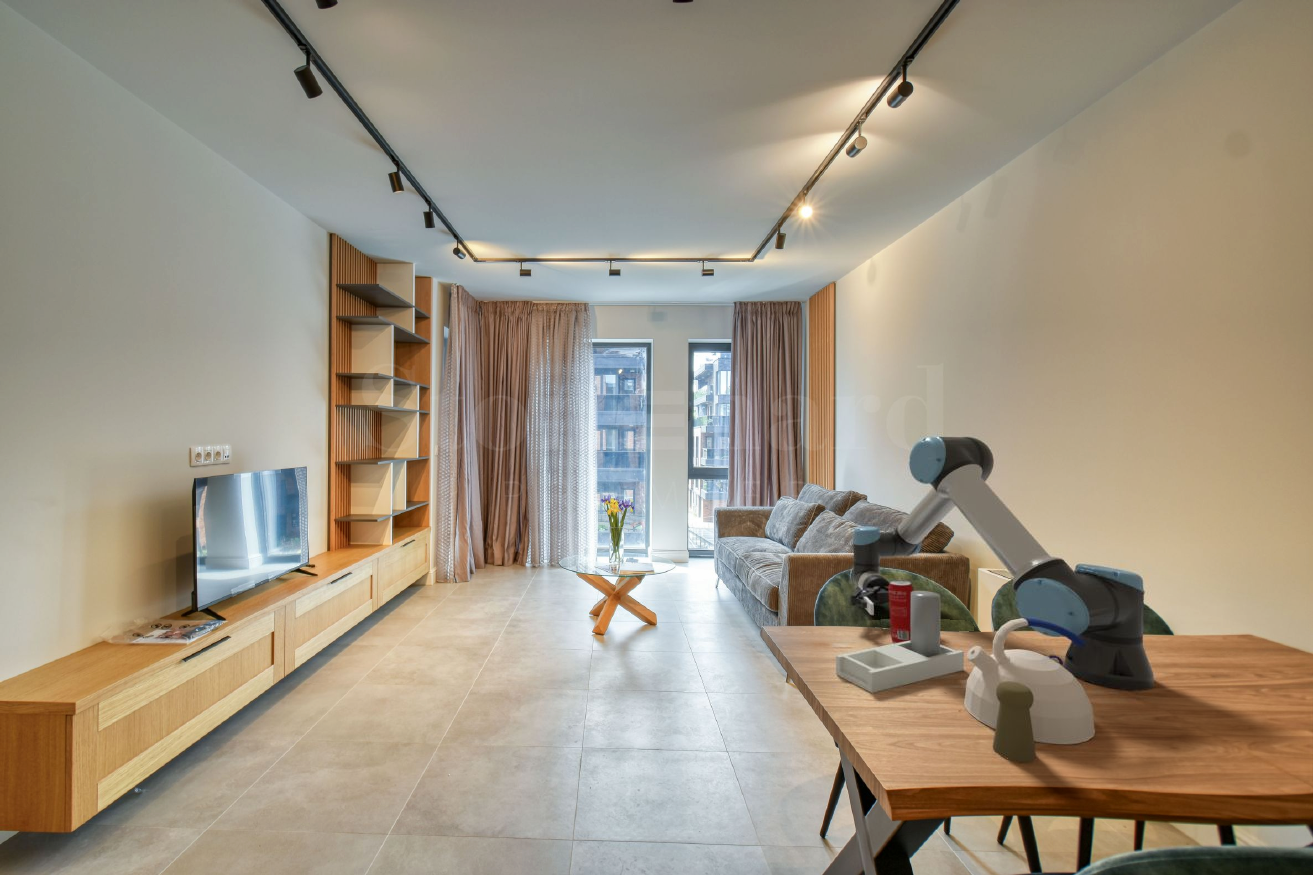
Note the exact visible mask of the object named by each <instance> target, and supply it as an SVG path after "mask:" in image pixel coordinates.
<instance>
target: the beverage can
mask: <svg viewBox="0 0 1313 875" xmlns="http://www.w3.org/2000/svg"><path fill="white" fill-rule="evenodd" d="M889 582H890V583H889V586H888V591H889V602H888V603H889V605H888V606H889V619H890V633H891V634H890V635H891V636H890V637H891V641H892V642H893V644H895V643H900V642H905V641H910V639H911V592H913V591H914V587H913V584H912V582H911V581H909V580H903V579H894V580H890V581H889Z"/></svg>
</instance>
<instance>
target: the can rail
mask: <svg viewBox="0 0 1313 875" xmlns="http://www.w3.org/2000/svg"><path fill="white" fill-rule="evenodd" d="M941 599H942V598H941V594H939V593H936V592H934V591H926V590H913V592H911V639H910V641H905V642H900V643H891V644H887V645H886V644H885V645H881V646H875V647H872V648H866V649H862V650H857V651H852V652H851V651H850V652H848V653H842V654H837V655H835V658H836V659H835V663H836V664H835V674H836V675H837V676H839V677H841V678H842V679H845V680H847V681H848V682H850V683H852V684H854V685H856V686H858V687H860V688H862V689H863V690H865V691H867V692H868V693H871V694H873V693H876V692H881V691H885V690H889V689H893V688H897V687H901V686H904V685H909V684H913V683H917V682H922V681H925V680H929V679H933V678H937V677H942V676H946V675H949V674H953V673H957V672H961V671H964V669H965V667H964V666H965V665H964V663H965V661H964V660H965V659H964V658H965V654H964V653H965V652H964V651H963V650H956V649H952V648H950V647H947V646H945V645H942V644H941V603H942V602H941Z"/></svg>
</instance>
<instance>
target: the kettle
mask: <svg viewBox="0 0 1313 875" xmlns="http://www.w3.org/2000/svg"><path fill="white" fill-rule="evenodd" d="M1025 626H1027V627H1030V626H1034V627H1041V628H1045V629H1049V630H1052V631H1054V632H1057V633H1059V634H1061V635H1063V636H1065V637H1064V638H1066V639H1068V640H1070V642H1071V641H1072V642H1073V643H1074V644H1075V645H1077V646H1086V645H1087V644H1086V643H1085V642H1084V641H1083V640H1082V639H1081V638H1080V637H1079V636H1077V635H1076V634H1074V633H1073V632H1071V631H1069V630H1067V629H1065V628H1063V627H1061V626H1058V625H1056V624H1053V623H1050V622H1046V621H1042V620H1037V619H1029V618H1022V617H1021V618H1017V619H1011V620H1009V621H1008V622H1005V623H1004V624H1002V625H1001V626H1000V628H999V629H998V630H997V632H996V633H995V634H994V638H993V640H992V654H988V653H987V651H985V650H984V649H983V648H982V646H980V645H973V646H972V647H971V648H969V650H968V651H967V653H966V658H967V660H968V662H971V663H972V664H973V665H974V667H973V669H972V671H971V672H970V674H969V676H968V678H967V680H966V686H965V694H964V700H963V702H964V704H963V705H964V707H965V709H966V711H967V712H968V713H969V715H971V716H972V717H974V718H975V719H976V720H977V721H979V722H980V723H982V724H984V725H986V726H987V727H990V728H991V729H993V730H995V729H996V723H997V717H998V711H999V705H1000V702H999V700H998V698H997V695H996V689H997V686H998V685H999V684H1000V683H1001V682H1005V681H1011V682H1017V683H1020V684H1023V685H1025V686H1027V687H1028V688H1029V689H1030V690H1031V692H1032V694H1033V697H1034V701H1033V704H1032V707H1031V708H1030V717H1031V724H1032V731H1033V738H1034V742H1036V743H1041V744H1042V743H1043V744H1049V745H1061V746H1062V745H1077V744H1081V743H1085V742H1088V741H1089V740H1090V739H1092V738H1093V737H1094V736H1095V732H1096V729H1095V723H1094V722H1095V721H1094V714H1093V713H1094V712H1093V706H1092V703H1091V702H1090V699H1089V697H1088V695H1087V692H1086V691H1085V689H1084V687H1083V685H1081V683H1080V682H1079V681H1078V679H1077V678H1076V676H1074V675H1072V674H1071V673H1070V672H1069V671H1068V670H1066V669H1065V666H1063V665H1064V661H1063V660H1062V658H1060V656H1058V655H1054V654H1050V655H1048V656H1046V655H1043V654H1041V653H1038V652H1036V651H1032V650H1028V649H1018V648H1017V649H1005V644H1006V640H1007V637H1008V636H1010V634H1011V633H1012V632H1013V631H1014V630H1016V629H1018V628H1021V627H1025ZM1053 658H1054V659H1053ZM1055 659H1057V660H1058V662H1057V661H1056V660H1055Z"/></svg>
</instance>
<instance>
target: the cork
mask: <svg viewBox="0 0 1313 875" xmlns="http://www.w3.org/2000/svg"><path fill="white" fill-rule="evenodd" d="M996 695H997V698H998V700H999V702H1000V705H999V711H998V717H997V723H996V729H994V731H995V732H994V738H993V743H992V750H993V751H994V752H995V753H996V754H997V753H998V754H997V755H999V756H1000V755H1001V756H1000V757H1002V756H1003V757H1002V758H1004V757H1006V758H1005V759H1007V758H1008V759H1007V760H1009V759H1010V760H1009V761H1014V762H1019V763H1026V764H1027V763H1033V762H1035V761H1036V759H1037V754H1036V747H1035V741H1034V738H1033V731H1032V724H1031V717H1030V708H1031V707H1032V704H1033V701H1034V697H1033V694H1032V692H1031V690H1030V689H1029V688H1028V687H1027V686H1025V685H1023V684H1020V683H1017V682H1011V681H1005V682H1001V683H1000V684H999V685H998V686H997V689H996Z"/></svg>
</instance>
